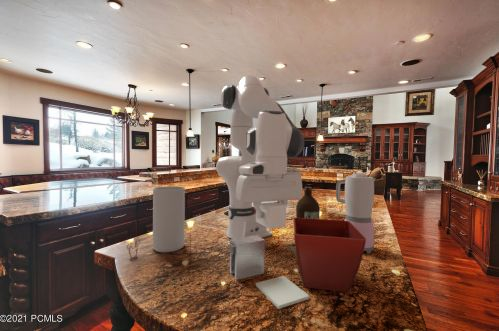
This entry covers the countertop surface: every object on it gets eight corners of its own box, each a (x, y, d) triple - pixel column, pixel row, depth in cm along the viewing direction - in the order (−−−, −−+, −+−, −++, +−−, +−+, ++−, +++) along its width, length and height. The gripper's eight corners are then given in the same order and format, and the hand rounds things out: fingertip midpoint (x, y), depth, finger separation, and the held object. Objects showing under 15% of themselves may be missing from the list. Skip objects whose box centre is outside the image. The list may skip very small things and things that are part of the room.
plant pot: (365, 301, 62) (367, 238, 62) (293, 293, 65) (294, 233, 65) (348, 268, 81) (349, 220, 81) (292, 263, 84) (293, 217, 84)
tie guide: (256, 266, 81) (257, 235, 81) (264, 273, 77) (264, 239, 76) (229, 272, 77) (230, 239, 77) (236, 280, 72) (236, 244, 72)
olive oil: (291, 237, 113) (292, 186, 112) (312, 236, 115) (313, 185, 114) (301, 245, 102) (302, 188, 102) (323, 243, 105) (324, 188, 104)
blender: (376, 247, 101) (378, 173, 101) (372, 256, 91) (374, 175, 91) (338, 239, 110) (340, 172, 110) (331, 247, 101) (332, 173, 100)
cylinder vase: (174, 254, 91) (175, 190, 90) (146, 251, 93) (146, 189, 93) (189, 243, 103) (189, 187, 102) (163, 241, 106) (164, 186, 105)
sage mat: (283, 278, 74) (283, 275, 74) (309, 298, 63) (309, 295, 63) (255, 285, 69) (255, 282, 69) (278, 309, 58) (278, 305, 58)
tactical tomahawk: (279, 247, 103) (279, 244, 103) (294, 245, 103) (294, 243, 103) (289, 268, 82) (289, 265, 82) (307, 266, 82) (307, 263, 82)
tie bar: (262, 246, 80) (262, 239, 80) (265, 248, 78) (265, 241, 78) (229, 252, 75) (229, 244, 75) (232, 254, 73) (232, 247, 73)
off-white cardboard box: (270, 220, 70) (270, 200, 70) (285, 227, 63) (286, 205, 63) (255, 221, 68) (256, 201, 68) (270, 229, 61) (270, 206, 61)
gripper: (294, 167, 73) (293, 211, 73) (233, 167, 64) (233, 217, 64) (307, 168, 67) (306, 215, 67) (243, 168, 58) (242, 223, 59)
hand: (270, 216), depth 66 cm, fingers closed on off-white cardboard box, 5 cm apart
